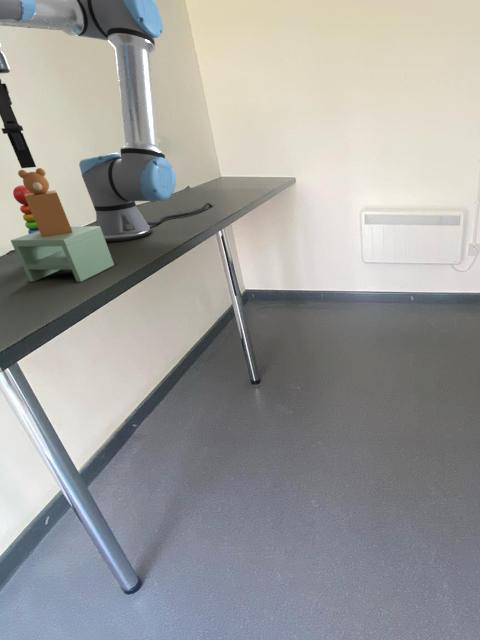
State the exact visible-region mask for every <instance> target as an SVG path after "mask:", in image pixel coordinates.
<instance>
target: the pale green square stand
mask: <svg viewBox="0 0 480 640" xmlns="http://www.w3.org/2000/svg"><path fill="white" fill-rule="evenodd" d="M70 227H71V229H72V233H66V234H60V235H53V236H47V237H42V235H41V233H40V231H37V232H34V233H31V234H29V233H28V234H25V235H22V236H19V237H16V238H14V239H10V242H11V244H12V246H13V250H14V251H15V253H16V255H17V257H18V260H19V262H20V265H21V266H22V268H23V270H24V272H25V274H26V276H27V278H28V280H29V282H36V281H38V280H41V279H43V278H45V277H47V276H50V275H52V274H54V273H57V272H59V271H61V270H62V271H63V270H64V271H66V270H67V271H68V270H70V271H72V274H73V276H74V279H75V282H77V283H82V282H84V281H86V280H88V279H89V278H91V277H93V276H96V275H97V274H100V273H101V272H104V271H106V270H108V269H109V268H112V267H114V266H115V263H114V261H113V257H112V255H111V253H110V249H109V247H108V244H107V241H105V238H104V236H103V233H102V230H101V228H100V226H97V225H91V226H89V225H87V226H85V225H83V226H82V225H81V226H79V225H78V226H76V225H75V226H70Z"/></svg>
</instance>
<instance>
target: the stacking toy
mask: <svg viewBox="0 0 480 640" xmlns="http://www.w3.org/2000/svg"><path fill="white" fill-rule="evenodd" d="M29 193H31V192H30V191H28V190H27V189H26V187H25V186H24V184H21V185H20V184H19V185H17V186H16V187H14V188H13V192H12V194H13V195H12V196H13V198H14V199H15V201H16V202H17V203H18V204H20V207H19V210H20V212H21V213H22V214H23V215H22V219H23V220H24V222H25V224H24V225H25V227H26V229H28V231H27V233H28V234H31V233H34V232H37V231H39V229H38V226H37V224H36V222H35V219H34V217H33V215H32V213H31V210H30V208H29V206H28V203H27V201H26V199H25V196H24V194H29Z"/></svg>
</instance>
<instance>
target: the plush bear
mask: <svg viewBox="0 0 480 640" xmlns="http://www.w3.org/2000/svg"><path fill="white" fill-rule="evenodd" d="M17 174H18V176H19V177H20V178H21V179H22V184H23V185H24V186H25V187H26V189H27V190H28V191H30V192H31V193H29V194H24V196H25V199H26V201H27V203H28V206H29V208H30V210H31V213H32V215H33V217H34V219H35V222H36V224H37V226H38V229H39V231H40V233H41V235H42V237H47V236H53V235H60V234H66V233H72V229H71V227H72V226H71V225H70V222H69V219H68V217H67V214H66V212H65V210H64V207H63V204H62V202H61V199H60V197H59V195H58V193H57V191H56V189H55V190H49V188H50V183H49V181H48V179H47V178H46V171H45V170H44V169H43V168H41V167H38V168H36V169H35V171H29V172H27V171H26V170H24V169H19V170H18V172H17Z"/></svg>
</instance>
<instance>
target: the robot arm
mask: <svg viewBox="0 0 480 640" xmlns="http://www.w3.org/2000/svg"><path fill="white" fill-rule="evenodd" d="M163 25H164V24H163V19H162V16H161V13H160V10H159V7H158V5H157V4H156V2H155V0H0V26H1V27H14V28H15V27H16V28H26V29H28V28H29V29H38V30H39V29H40V30H50V31H51V30H52V31H62V32H63V33H64V34H66V35H68V36H71V37H81V38H86V39H87V38H88V39H94V40H99V41H108V43H109V44H110V45H111V46H112V47H113V48H114V50H115V59H116V70H117V79H118V87H119V98H120V105H121V114H122V123H123V124H122V125H123V132H124V142H125V143H124V144H123V145H122V146H121V147H120V148H119V150H120V151H119V152H120V153H118V152H115V153H109V154H103V155H98V156H93V157H88V158H84V159H81V160H79V163H78V164H79V169H80V173H81V178H82V180H83V182H84V185H85V188H86V190H87V194H88V196H89V198H90V200H91V203H92V205H93V209H94V212H95V218H96V219H95V220H96V226H100V228H101V230H102V233H103V236H104V238H105V241H106V242H123V241H124V242H125V241H130V240H135V239H139V238H142V237H146V236H148V235H150V234H151V232H152V230H151V228H150V226H155V225H159V224H160V223H162V222H163V221H164V220H167V219H173V218H180V217H186V216H190V215H194V214H196V213H199V212H201V211H203V210H205V209H206V208H207V207H213V205H212V204H211V203H210V202H205V203H204V205H203V206H201V207H199V208H196V209H194V210H191V211H187V212H182V213H175V214H170V215H169V214H168V215H165V216H163V217H160V218H158V220H156V221H146V219H145V218H144V216H143V214H142V213H141V212H140V210H139V209H138V207H137V204H136V202H151V203H155V202H160V201H161V202H163V201H166V200H168V199H170V198H171V196H173V194H174V192H175V189H176V185H177V184H176V183H177V176H176V171H175V169H173V165H172V163H171V162H170V161H169V160H168V159H166V154H165V152H164V151H162V150H161V148H160V147H159V138H158V137H159V136H158V128H157V127H158V126H157V116H156V115H157V114H156V106H155V97H154V95H155V94H154V84H153V83H154V82H153V74H152V63H151V55H152V54H153V53H154V52H155V51H156V43H155V39H158V38H159V37H160V36H161V35H162V34H163V30H164V29H163V28H164V27H163ZM1 47H2V45H1V44H0V48H1ZM10 72H11V68H10V66H9V64H8V60H7V58H6V55H5V53H4V52H3V51H2V50H0V74H9V73H10ZM9 94H10V91H9V89H8V86H7V84H6V83H2V79H1V78H0V118H1V121H2V124H3V128H0V129H1V132H2V134H4V135H7V137H8V140H9V142H10V144H11V147H12V149H13V151H14V154H15V156H16V159H17V161H18V164H19V165H20V168H21V169H30V168H37V165H36V162H35V160H34V157H33V155H32V153H31V151H30V149H29V146H28V143H27V141H26V138H25V135H24V133H23V131H24V128H23V126H22V125H21V124H19V123H18V120H17V118H16V116H15V113H14V110H13V108H12V105H13V102H12V99H11V97H10V95H9ZM220 239H221V242H222V247H223V251H224V254H225V259H226V263H227V268H228V272H229V276H230V281H231V286H232V289H233V293H234V296H235V297H237V296H238V294H237V289H236V286H235V285H236V284H235V280H234V276H233V272H232V268H231V263H230V259H229V255H228V250H227V246H226V241H225V238H224V235H221V236H220Z"/></svg>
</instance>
